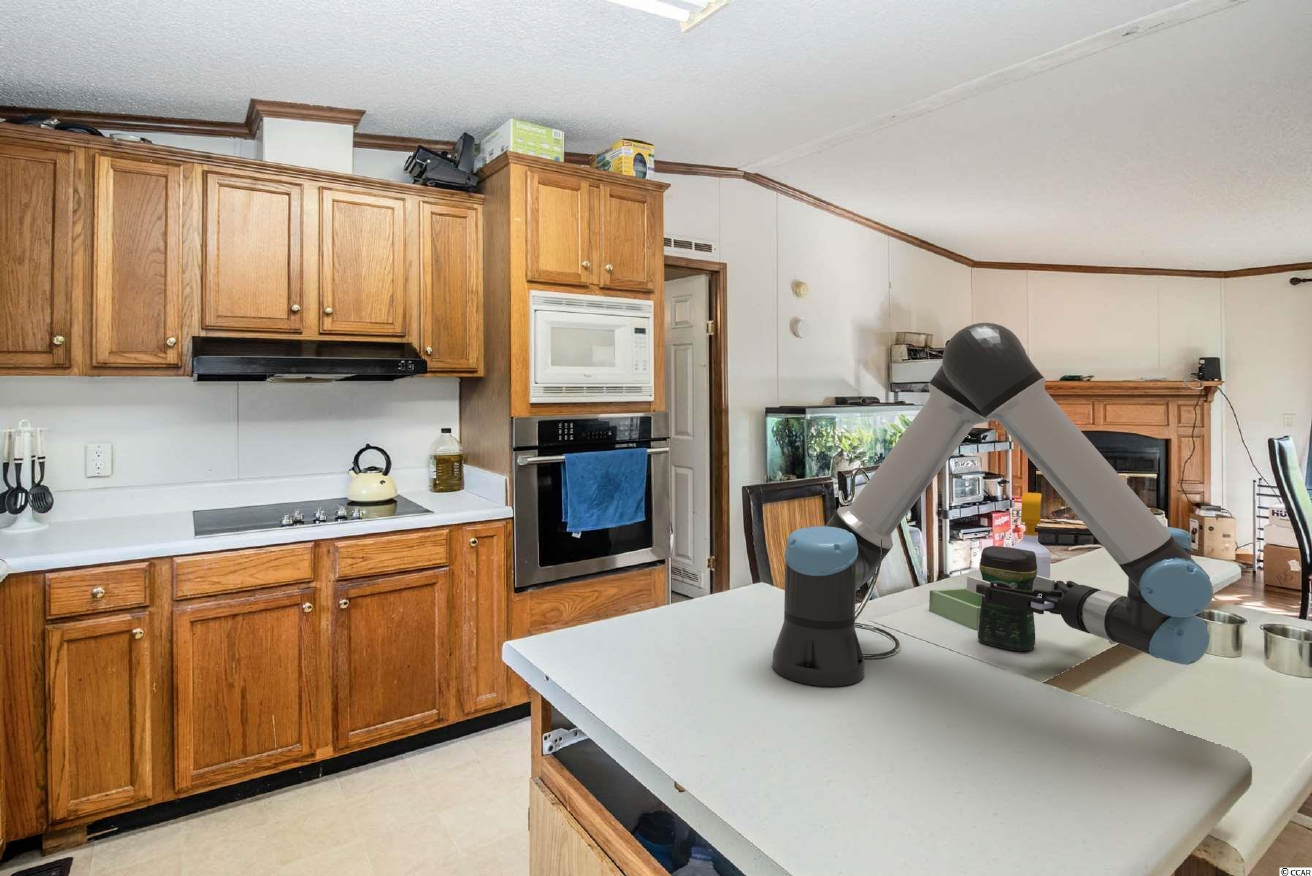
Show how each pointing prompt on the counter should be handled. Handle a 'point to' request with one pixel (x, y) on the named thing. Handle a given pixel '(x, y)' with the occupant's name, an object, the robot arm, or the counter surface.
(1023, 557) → the coffee jar
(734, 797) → the counter surface
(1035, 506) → the soap bottle
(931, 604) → the green tray
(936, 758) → the counter surface
